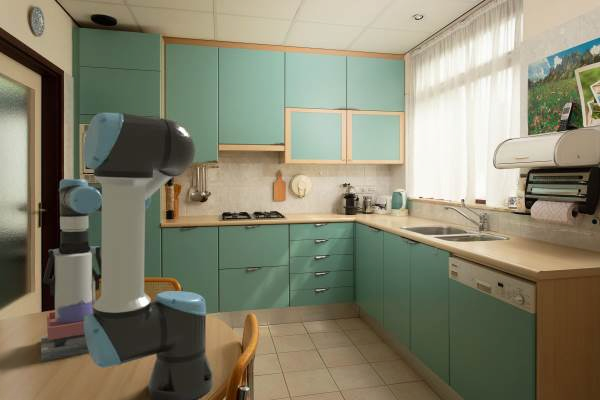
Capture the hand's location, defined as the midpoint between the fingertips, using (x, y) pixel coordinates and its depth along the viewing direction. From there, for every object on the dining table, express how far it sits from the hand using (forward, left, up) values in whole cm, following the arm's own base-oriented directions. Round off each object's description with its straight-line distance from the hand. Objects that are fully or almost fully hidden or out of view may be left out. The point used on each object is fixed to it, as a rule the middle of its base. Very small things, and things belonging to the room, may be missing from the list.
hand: (75, 303), depth 122 cm
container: (0, 0, -5) cm, 5 cm away
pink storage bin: (0, 0, -10) cm, 10 cm away
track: (0, -7, -13) cm, 15 cm away
